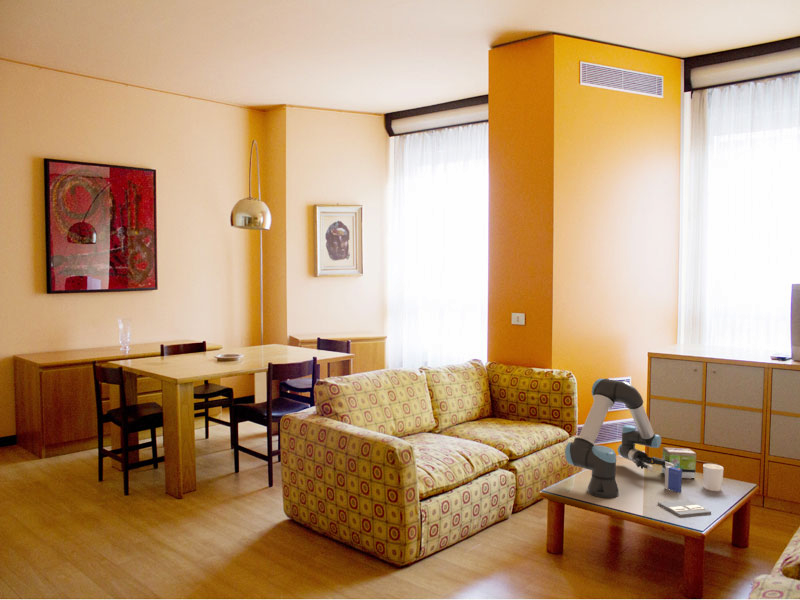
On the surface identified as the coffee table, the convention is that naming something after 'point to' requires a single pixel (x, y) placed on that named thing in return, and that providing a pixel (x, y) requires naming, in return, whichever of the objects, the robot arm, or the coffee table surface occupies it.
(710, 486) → the candle holder
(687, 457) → the tea box
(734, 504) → the coffee table surface
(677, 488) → the walkman
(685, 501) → the label board
